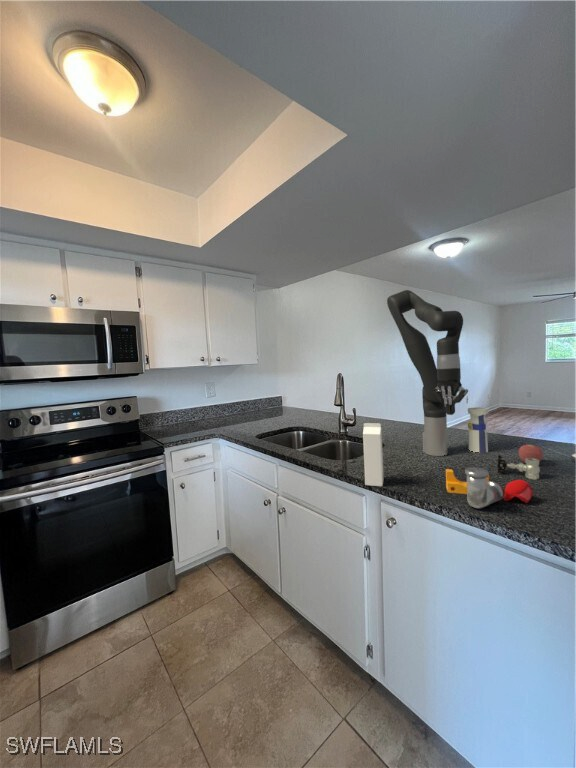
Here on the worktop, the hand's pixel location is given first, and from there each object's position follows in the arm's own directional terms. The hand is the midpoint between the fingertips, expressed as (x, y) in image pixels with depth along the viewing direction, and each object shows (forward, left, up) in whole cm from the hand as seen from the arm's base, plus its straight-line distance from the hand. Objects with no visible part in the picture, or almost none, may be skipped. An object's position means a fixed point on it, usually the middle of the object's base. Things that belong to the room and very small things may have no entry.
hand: (450, 414), depth 114 cm
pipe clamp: (+11, -8, -24) cm, 27 cm away
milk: (-12, -27, -23) cm, 37 cm away
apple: (+10, +34, -23) cm, 43 cm away
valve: (+13, +18, -23) cm, 33 cm away
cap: (+23, -2, -23) cm, 33 cm away
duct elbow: (+19, -13, -23) cm, 33 cm away
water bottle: (-11, +35, -23) cm, 44 cm away
